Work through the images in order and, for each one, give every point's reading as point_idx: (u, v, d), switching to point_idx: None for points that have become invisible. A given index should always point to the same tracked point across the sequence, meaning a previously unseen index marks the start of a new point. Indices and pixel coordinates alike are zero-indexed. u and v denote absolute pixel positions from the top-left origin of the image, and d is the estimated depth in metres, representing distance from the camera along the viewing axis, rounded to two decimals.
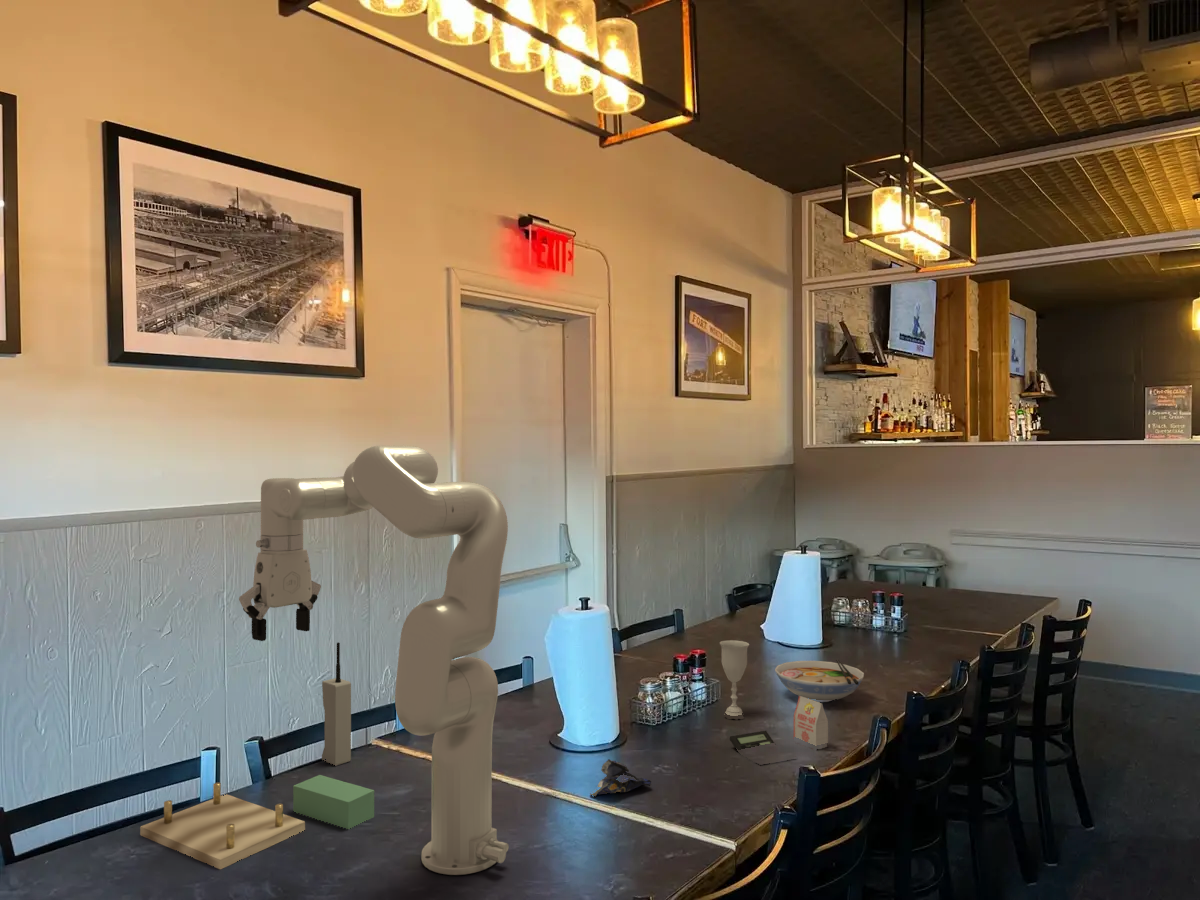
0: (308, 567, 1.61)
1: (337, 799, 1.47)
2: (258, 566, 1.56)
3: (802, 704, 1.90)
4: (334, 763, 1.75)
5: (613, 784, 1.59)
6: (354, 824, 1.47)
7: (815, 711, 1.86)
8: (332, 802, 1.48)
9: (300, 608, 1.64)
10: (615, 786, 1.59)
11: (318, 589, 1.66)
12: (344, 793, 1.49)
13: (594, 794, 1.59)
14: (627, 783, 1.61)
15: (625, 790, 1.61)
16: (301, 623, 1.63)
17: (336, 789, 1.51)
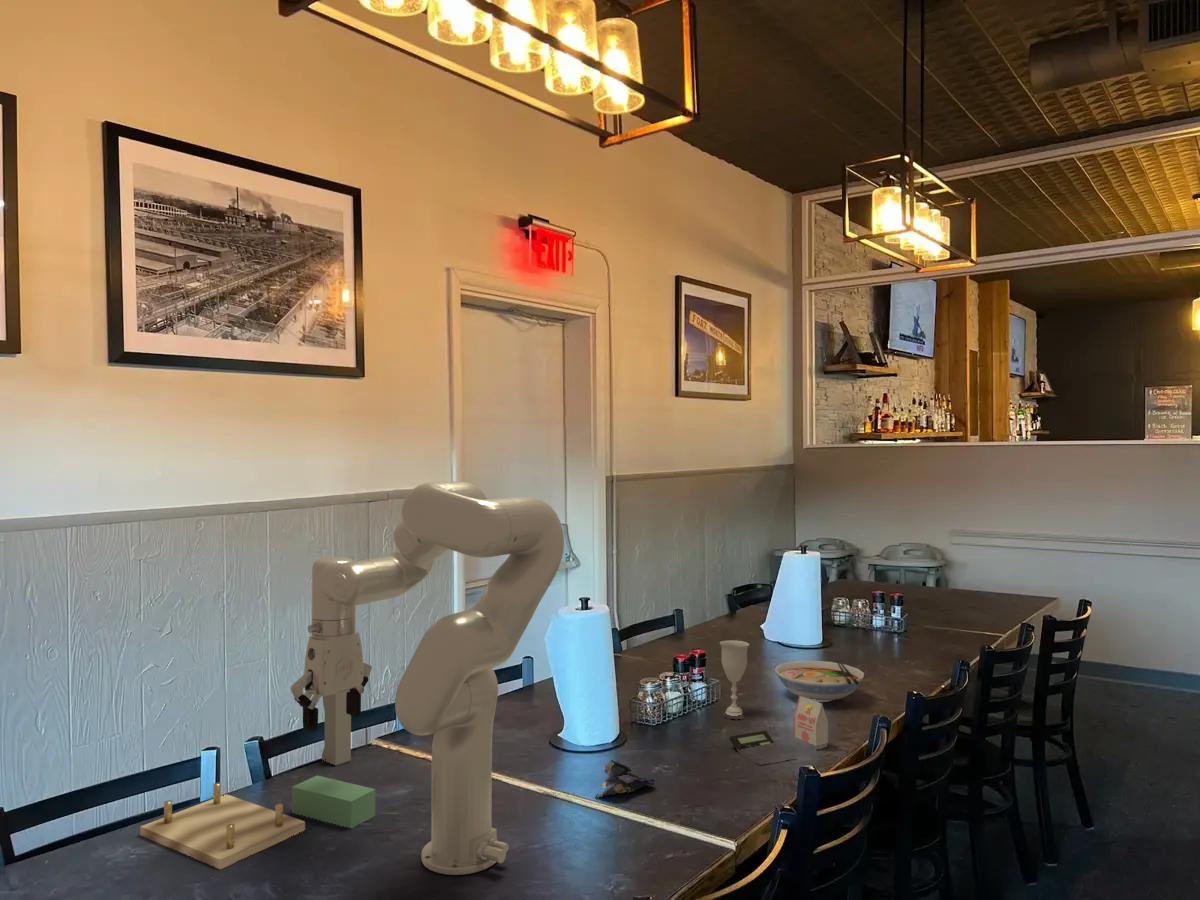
0: (360, 650, 1.54)
1: (339, 799, 1.47)
2: (310, 652, 1.49)
3: (802, 704, 1.90)
4: (334, 763, 1.75)
5: (619, 784, 1.58)
6: (356, 823, 1.47)
7: (815, 711, 1.86)
8: (334, 802, 1.48)
9: (351, 692, 1.56)
10: (621, 786, 1.59)
11: (368, 671, 1.58)
12: (345, 793, 1.50)
13: (600, 795, 1.59)
14: (632, 783, 1.61)
15: (630, 790, 1.61)
16: (352, 707, 1.56)
17: (336, 789, 1.51)
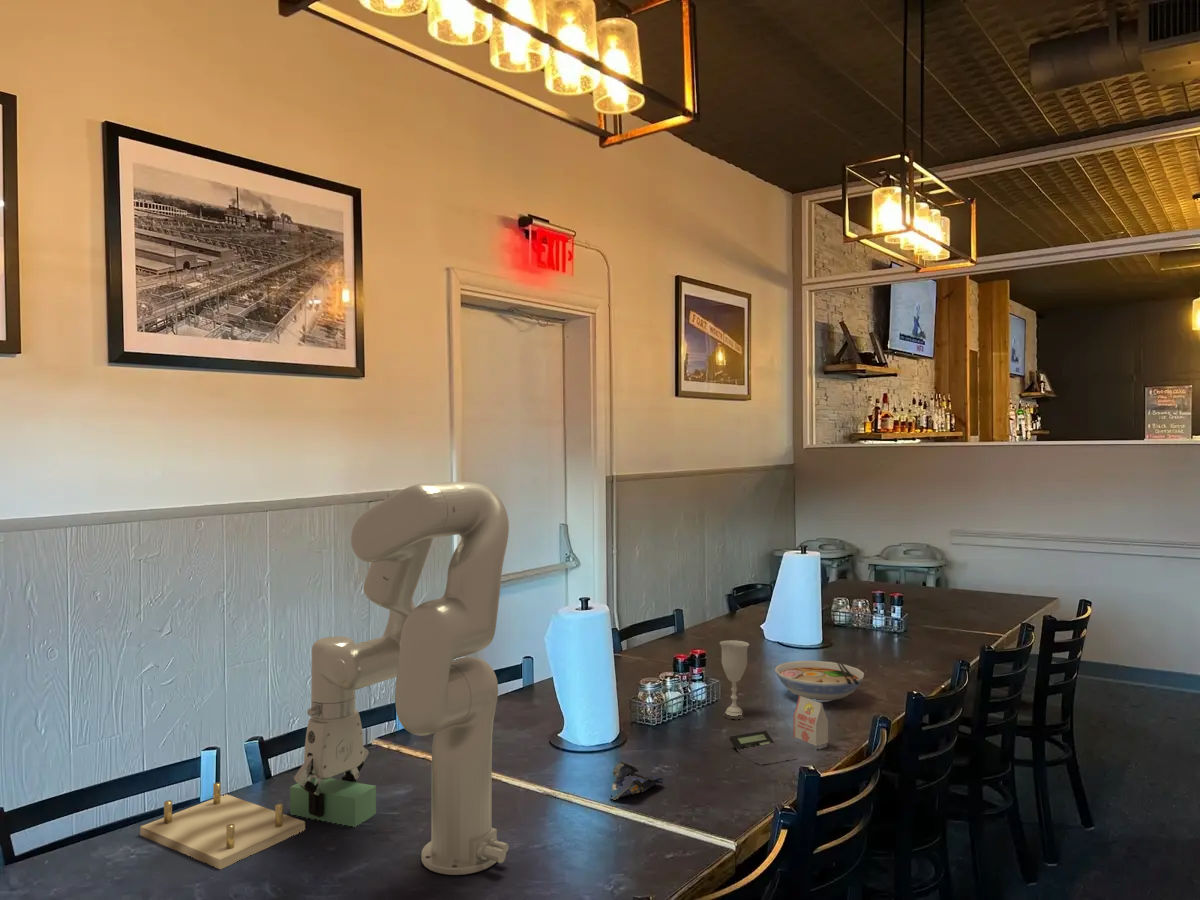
0: (360, 730, 1.54)
1: (342, 796, 1.48)
2: (310, 734, 1.49)
3: (802, 704, 1.90)
4: None
5: (635, 785, 1.58)
6: (359, 820, 1.48)
7: (815, 711, 1.86)
8: (337, 800, 1.48)
9: (346, 777, 1.55)
10: (636, 787, 1.58)
11: (365, 756, 1.58)
12: (347, 790, 1.50)
13: (616, 798, 1.58)
14: (644, 783, 1.61)
15: (643, 790, 1.61)
16: None
17: (336, 787, 1.51)
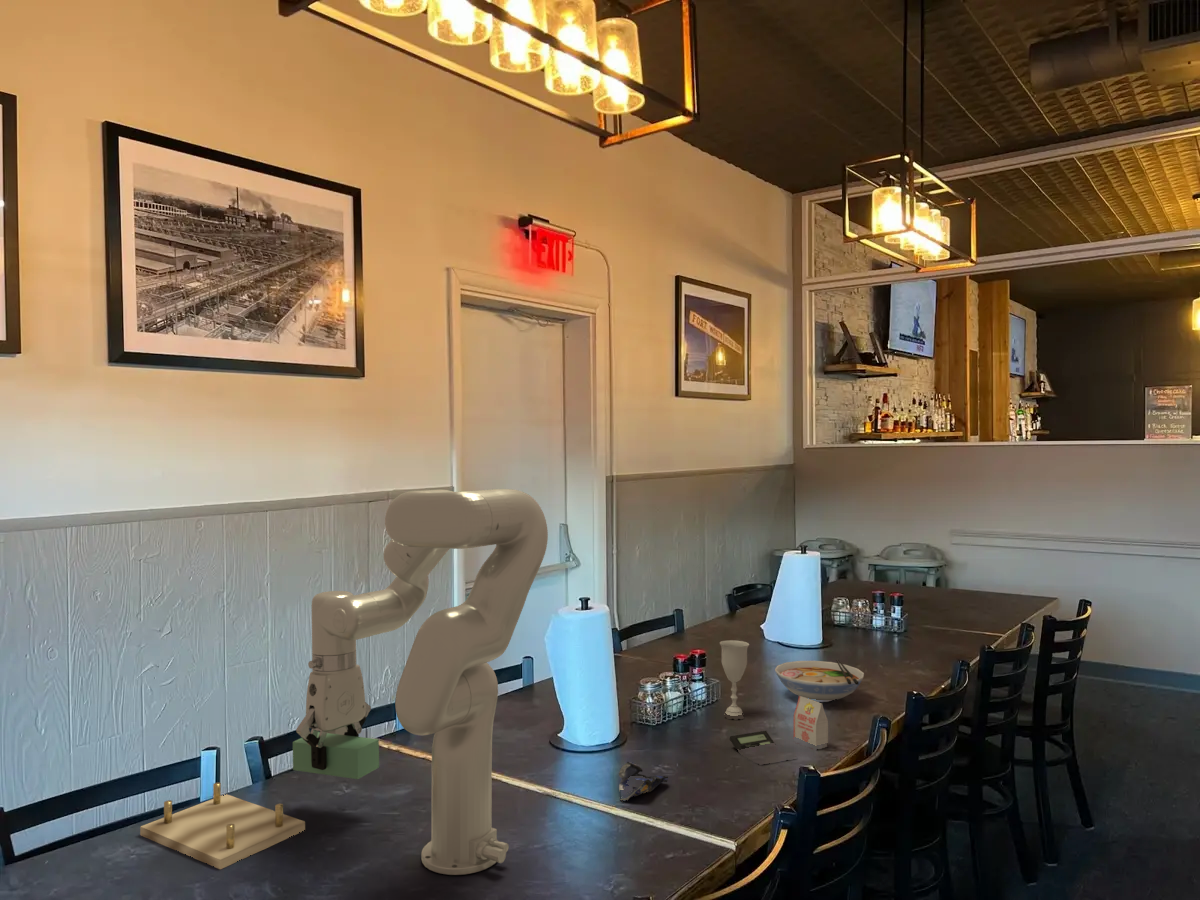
0: (361, 684, 1.54)
1: (344, 749, 1.47)
2: (311, 687, 1.49)
3: (802, 704, 1.90)
4: None
5: (645, 785, 1.58)
6: (362, 772, 1.47)
7: (815, 711, 1.86)
8: (339, 752, 1.48)
9: (348, 732, 1.55)
10: (646, 787, 1.58)
11: (367, 711, 1.57)
12: (349, 744, 1.50)
13: (627, 798, 1.57)
14: (652, 782, 1.62)
15: (651, 789, 1.61)
16: None
17: (338, 741, 1.51)
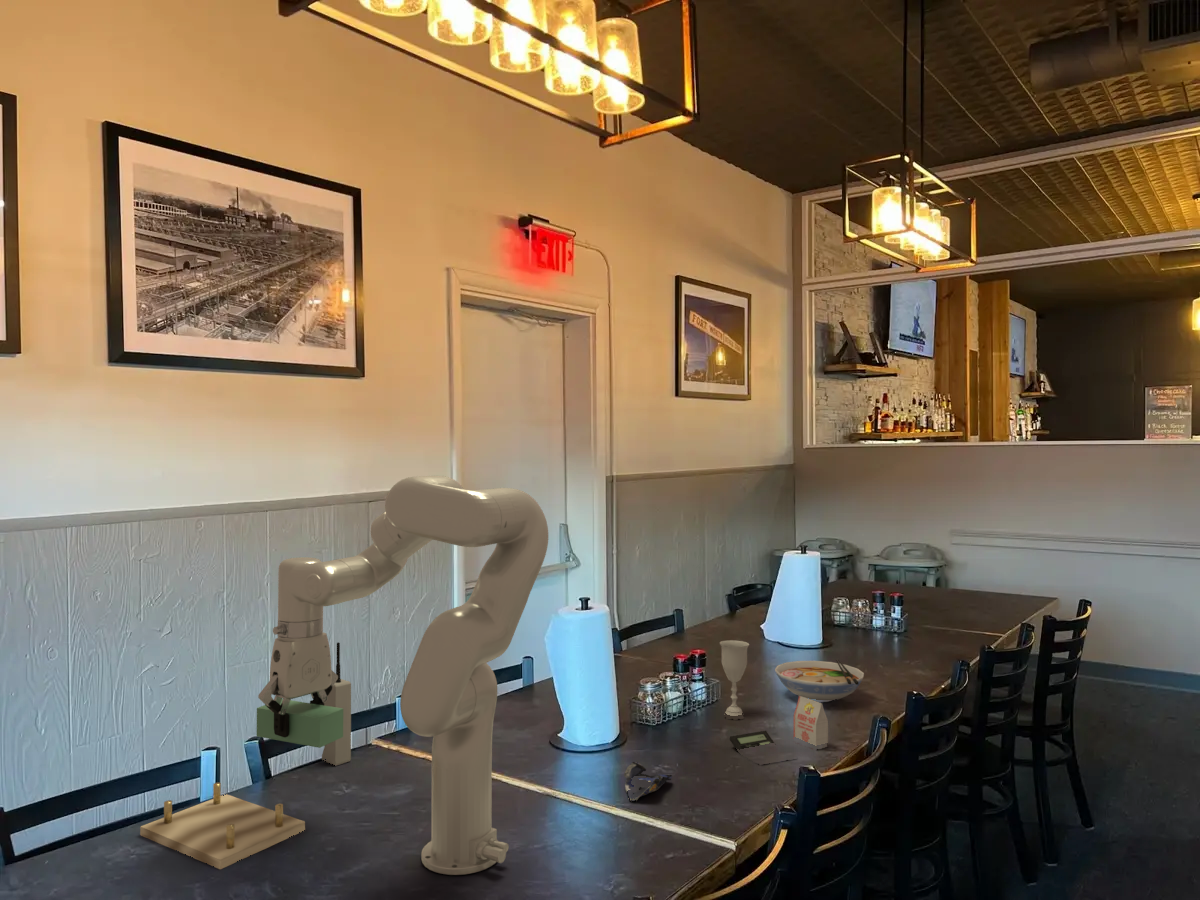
0: (328, 652, 1.52)
1: (307, 716, 1.45)
2: (275, 654, 1.47)
3: (802, 704, 1.90)
4: (334, 763, 1.75)
5: (654, 784, 1.58)
6: (325, 741, 1.45)
7: (815, 711, 1.86)
8: (302, 720, 1.46)
9: (314, 700, 1.53)
10: (655, 786, 1.59)
11: (334, 680, 1.55)
12: (313, 712, 1.48)
13: (636, 798, 1.57)
14: None
15: (657, 788, 1.62)
16: None
17: (303, 709, 1.49)
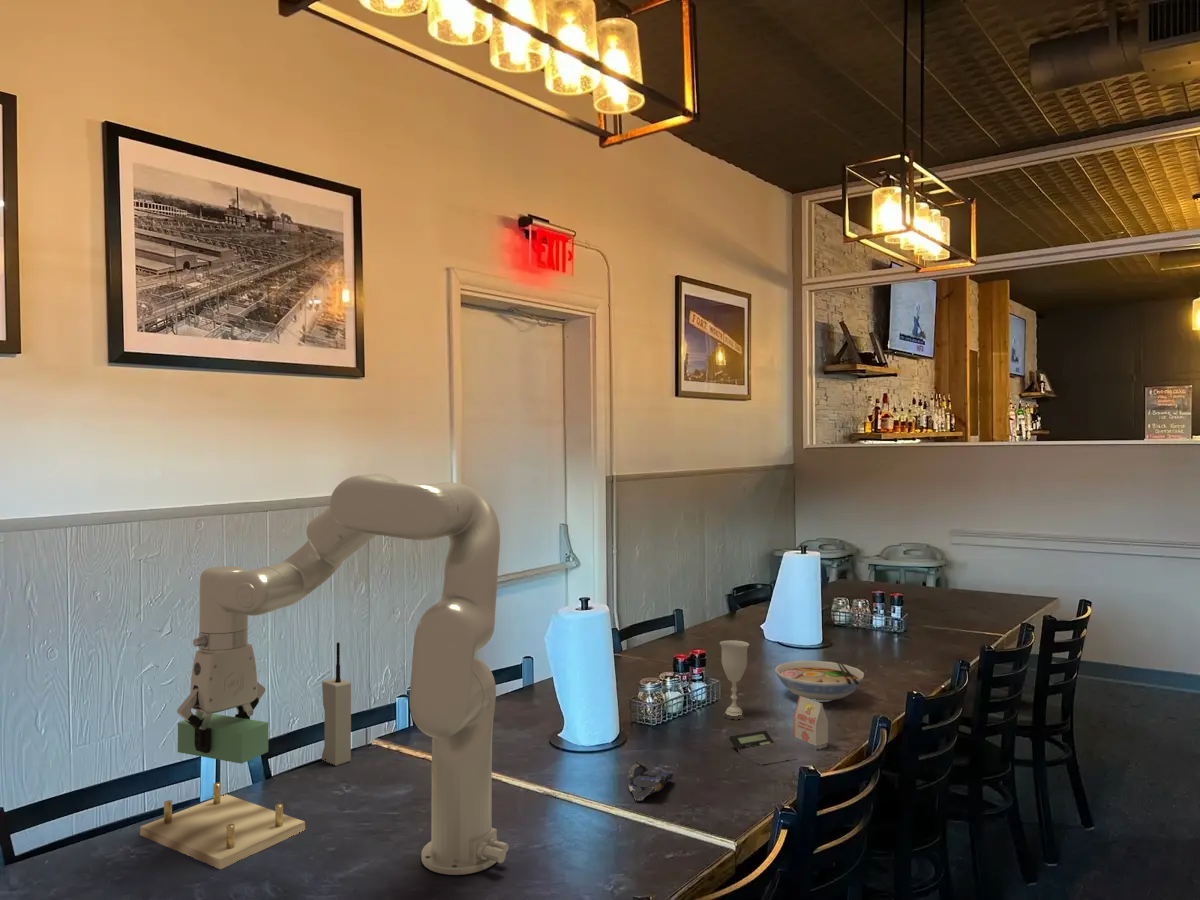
0: (253, 664, 1.46)
1: (229, 731, 1.40)
2: (196, 667, 1.41)
3: (802, 704, 1.90)
4: (334, 763, 1.75)
5: (659, 784, 1.59)
6: (247, 756, 1.40)
7: (815, 711, 1.86)
8: (223, 735, 1.40)
9: (239, 714, 1.48)
10: (660, 785, 1.59)
11: (261, 693, 1.50)
12: (236, 726, 1.42)
13: (642, 798, 1.57)
14: None
15: (661, 788, 1.62)
16: None
17: (226, 723, 1.44)
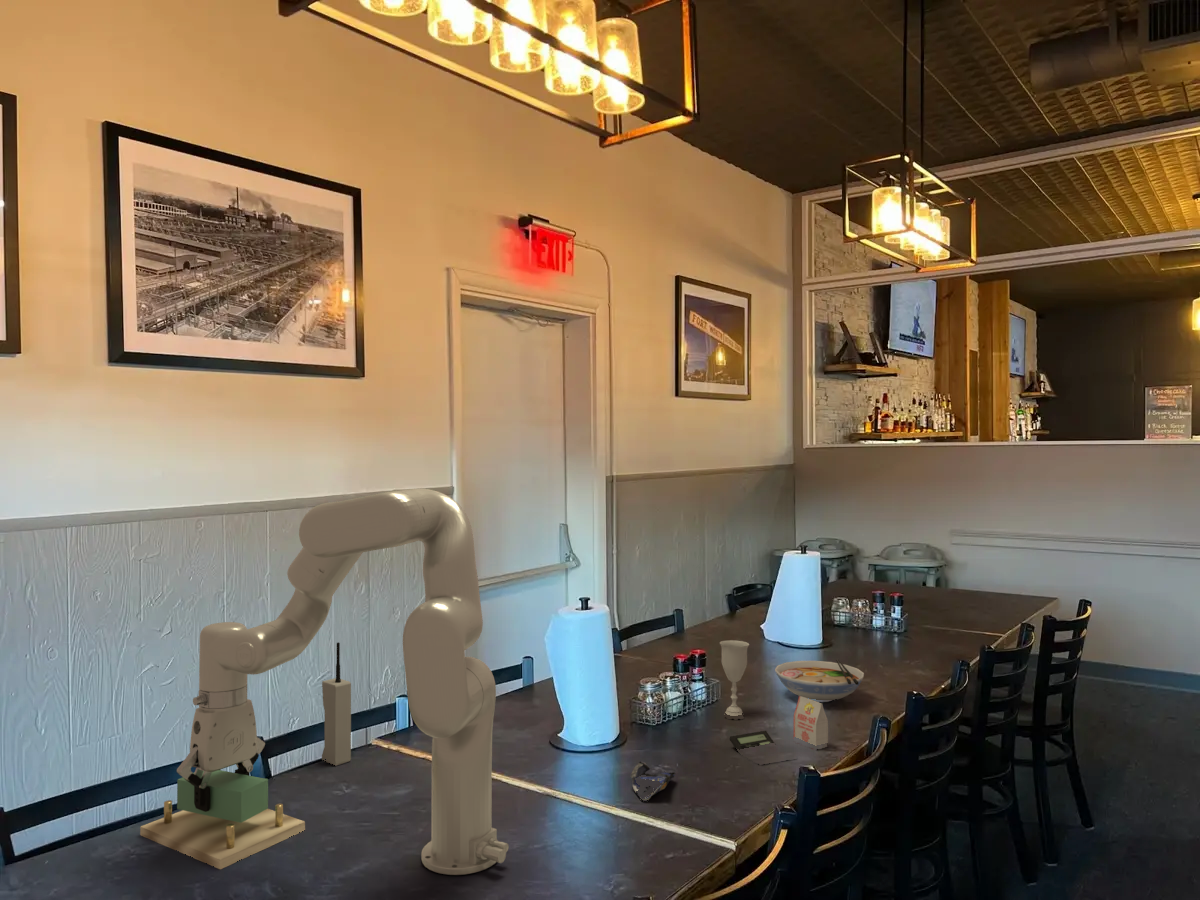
0: (253, 720, 1.46)
1: (228, 790, 1.40)
2: (196, 725, 1.41)
3: (802, 704, 1.90)
4: (334, 763, 1.75)
5: (665, 783, 1.59)
6: (247, 815, 1.40)
7: (815, 711, 1.86)
8: (223, 794, 1.40)
9: (239, 770, 1.48)
10: (665, 784, 1.60)
11: (260, 748, 1.50)
12: (235, 784, 1.42)
13: (648, 798, 1.57)
14: (665, 779, 1.63)
15: None
16: None
17: (225, 780, 1.44)
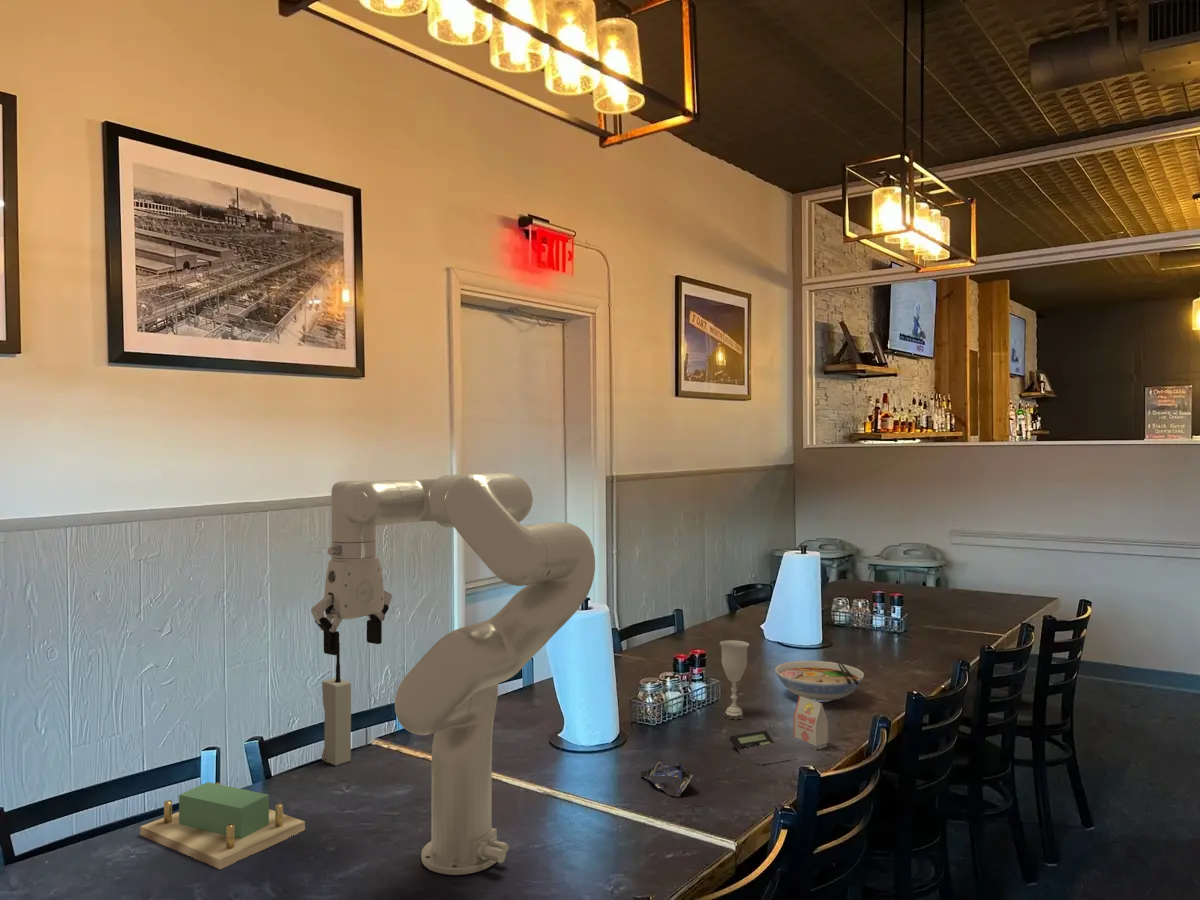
0: (380, 575, 1.51)
1: (229, 806, 1.40)
2: (330, 575, 1.46)
3: (802, 704, 1.90)
4: (334, 763, 1.75)
5: (690, 776, 1.63)
6: (247, 831, 1.40)
7: (815, 711, 1.86)
8: (224, 809, 1.40)
9: (371, 619, 1.53)
10: None
11: (389, 599, 1.56)
12: (236, 799, 1.42)
13: (680, 793, 1.60)
14: None
15: None
16: (372, 635, 1.53)
17: (226, 795, 1.44)
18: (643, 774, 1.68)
